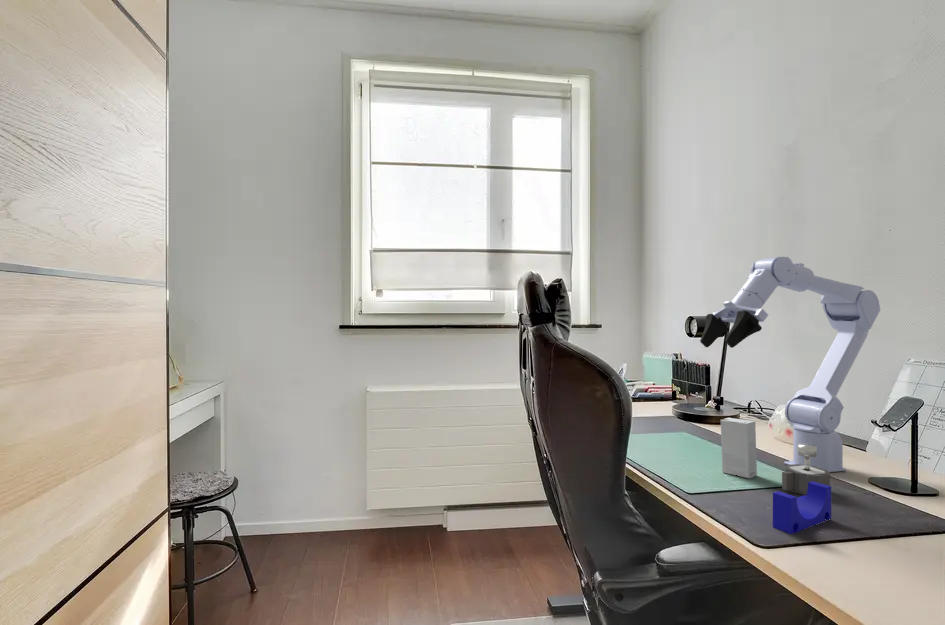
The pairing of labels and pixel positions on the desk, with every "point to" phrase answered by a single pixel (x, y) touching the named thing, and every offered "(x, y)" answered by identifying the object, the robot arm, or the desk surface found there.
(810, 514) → the blue u-shaped cradle block
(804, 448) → the plunger
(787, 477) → the press
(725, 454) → the skincare box
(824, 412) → the robot arm
